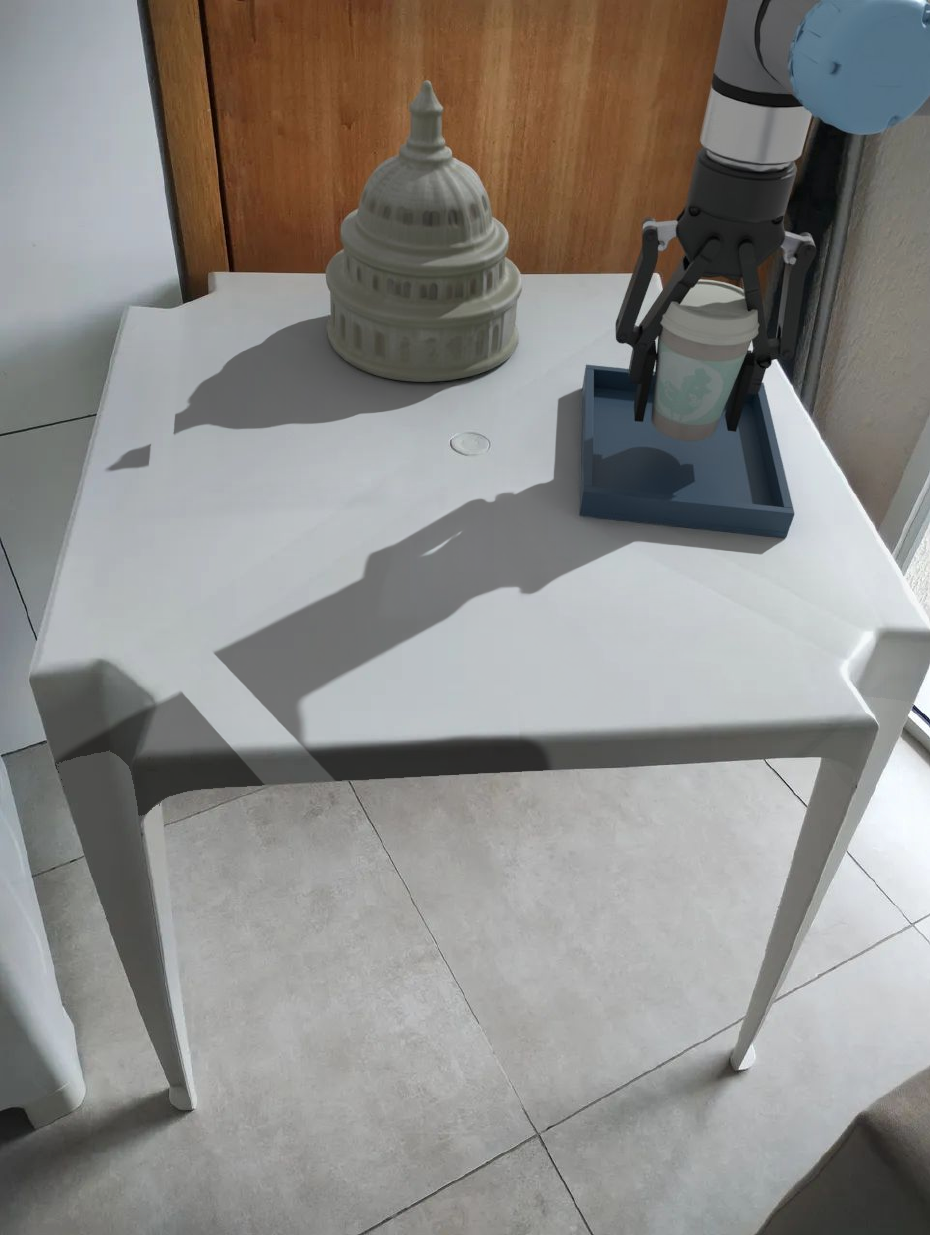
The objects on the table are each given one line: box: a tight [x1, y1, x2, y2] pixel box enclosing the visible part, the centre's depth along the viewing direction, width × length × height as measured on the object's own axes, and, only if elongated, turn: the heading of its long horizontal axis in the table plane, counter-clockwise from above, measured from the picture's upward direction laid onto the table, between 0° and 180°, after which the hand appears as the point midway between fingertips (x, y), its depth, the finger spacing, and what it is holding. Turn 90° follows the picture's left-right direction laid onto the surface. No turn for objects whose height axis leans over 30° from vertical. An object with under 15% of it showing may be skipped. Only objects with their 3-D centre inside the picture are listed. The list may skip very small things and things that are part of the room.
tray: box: [578, 364, 795, 539], centre depth 92 cm, size 22×18×3 cm
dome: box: [325, 80, 523, 383], centre depth 98 cm, size 20×25×20 cm
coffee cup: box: [651, 279, 759, 441], centre depth 87 cm, size 9×8×12 cm
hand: (684, 418), depth 90 cm, fingers closed on coffee cup, 8 cm apart
